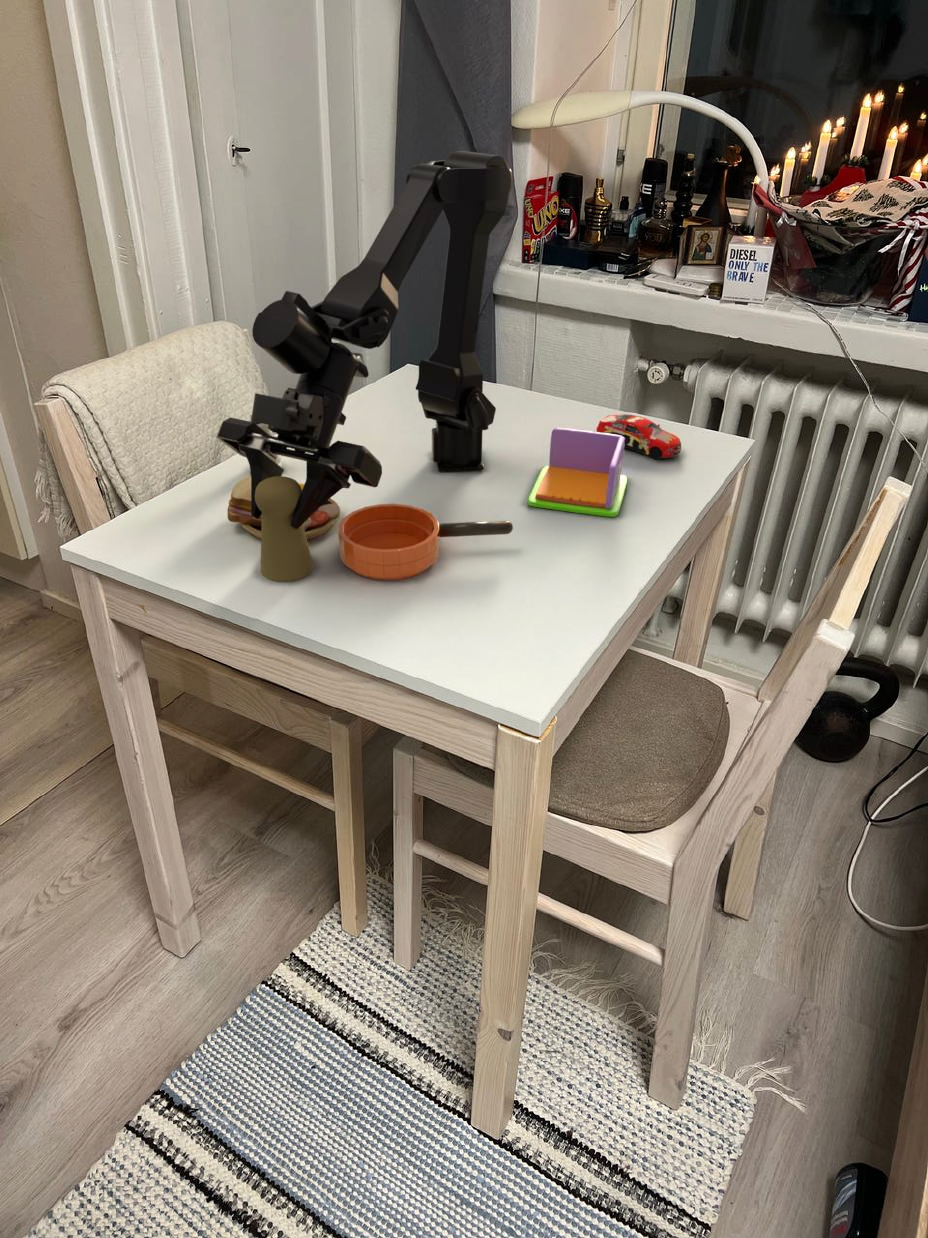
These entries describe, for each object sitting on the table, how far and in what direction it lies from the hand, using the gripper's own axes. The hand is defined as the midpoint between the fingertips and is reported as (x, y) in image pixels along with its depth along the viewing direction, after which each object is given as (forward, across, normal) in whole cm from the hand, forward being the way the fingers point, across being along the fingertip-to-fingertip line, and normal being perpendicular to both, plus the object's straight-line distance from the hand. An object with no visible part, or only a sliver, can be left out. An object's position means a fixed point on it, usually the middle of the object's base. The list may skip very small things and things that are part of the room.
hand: (273, 522), depth 102 cm
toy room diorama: (-20, +24, +30) cm, 43 cm away
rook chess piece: (-11, -18, +20) cm, 29 cm away
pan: (-2, +9, +11) cm, 15 cm away
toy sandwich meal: (-3, -6, +12) cm, 14 cm away
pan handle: (-7, +18, +13) cm, 23 cm away
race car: (-33, +26, +43) cm, 60 cm away
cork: (+4, 0, +6) cm, 7 cm away
